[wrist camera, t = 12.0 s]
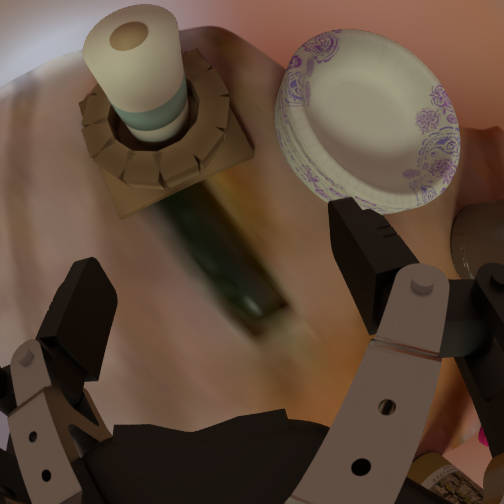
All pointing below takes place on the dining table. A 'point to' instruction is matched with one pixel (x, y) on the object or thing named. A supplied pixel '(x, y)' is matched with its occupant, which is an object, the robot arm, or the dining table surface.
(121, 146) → the holder
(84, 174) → the dining table surface
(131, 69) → the roll
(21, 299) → the dining table surface
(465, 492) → the bark covered cylinder
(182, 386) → the dining table surface
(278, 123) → the paper bowls
